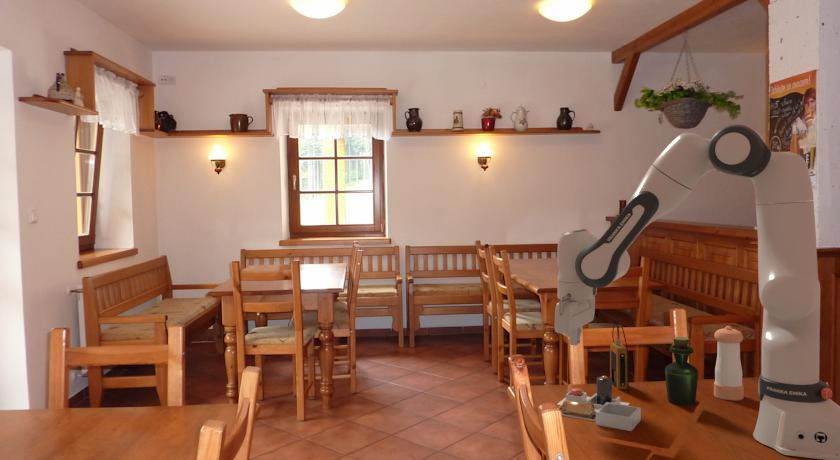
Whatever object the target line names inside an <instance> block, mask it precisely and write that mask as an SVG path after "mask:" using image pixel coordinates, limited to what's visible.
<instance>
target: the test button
mask: <svg viewBox="0 0 840 460" xmlns="http://www.w3.org/2000/svg"><path fill="white" fill-rule="evenodd" d="M570 391H571V395H574V396H581V395H582V392H583V391H582V389H581V388H579V387H578V388H576V387H575V388H570Z"/></svg>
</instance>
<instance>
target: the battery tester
mask: <svg viewBox="0 0 840 460" xmlns="http://www.w3.org/2000/svg"><path fill="white" fill-rule="evenodd" d="M564 400H570V401H576V402H582V403H588V404H593V405H594V407H595V411H598V410H599V409H600V408H601V407H602V406H603V405H599V404H597V392H596V393H594V394H593V395H592V396H588V394H587V392H584V391H582V395H581V396H574V395H571V390H570V391H568V392H567V393H565V397H564V398H563V399H562V400H560V401H559V402H558V403H556V405H557V406H560V405H562V404H563V402H564ZM612 403H615V404H621V405H627V406H630V404H631V403H630V402H626V401H625V402H624V401H621V396H617V397H615V399H614V398H612Z"/></svg>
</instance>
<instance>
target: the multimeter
mask: <svg viewBox="0 0 840 460" xmlns="http://www.w3.org/2000/svg"><path fill="white" fill-rule="evenodd" d="M613 322H614V323H613V325H612V326H613V327H612V342H610V343H609V357H610V358H609V361H610V362H609V365H610V367H609V368H610V369H609V373H608V376H607V377H609V378H612V386H614V388H616V389H617V390H627V393H630V390H629V388H630V384H629V379H630V358H629V352H628V351H629V349H628V343H627V339H626V335H625V330H624V328H623V325H622V324H621V323H620V322H619V323H617V321H616V319H613ZM615 325H616V341H615V338H614V331H615V330H614V329H615ZM620 327H621V330H622V334H623V338H624V342H625V345H623V344H622V343H621V340H620V337H621V336H620Z"/></svg>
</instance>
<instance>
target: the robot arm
mask: <svg viewBox="0 0 840 460" xmlns="http://www.w3.org/2000/svg"><path fill="white" fill-rule="evenodd" d="M712 171H719V172H721V173H723V174H726V175H727V176H731V177H745V178H748V179H750V181H751V183H752V185H753V189H754V199H755V202H754V203H755V214H756V215H755V216H756V230H757V259H758V260H757V267H758V269H757V271H758V275H757V276H758V278H757V279H758V297H759V298H758V299H759V301H760V304H761V306H762V308H763V310H762V311H763V315H762V331H761V373H760V374H759V376H758V377H759V378H758V399H759V400H760V401H759V410H758V416H757V421H756V424H755V428H754V431H753V433H752V436H753V438H754V440H755V441H758V442H759V443H761V444H762V445H765V446H767V447H770V448H771V449H773V450H776V451H777V452H778V453H780V454H782V455H783V456H784V455H785V456H788V457H789V456H792V457H800V458H808V459H815V460H816V459H817V460H840V405H838V404H837V403H836V402H835V401H833V400H832V399H831V398H832V397H833V391H832V389H831V386H830V385H829V382H827V381H826V382H824V381H823V380H821V379H820V338H821V337H820V334H821V333H820V332H821V331H820V330H821V327H820V326H821V284H820V280H819V274H818V272H819V271H818V270H819V269H818V253H817V252H818V251H817V232H816V219H815V218H816V216H815V205H814V204H815V202H814V191H813V185H812V181H811V175H810V171H809V168H808V164H807V162H806V160H805V159H804V157H803V156H802V155H800V154H798V153H795V152H792V151H773V150H771V149H770V148H769V146H768V145H767V143H766V142H765V139H764V138H763V136H762V135H761V134H760V133H759V132H758V131H757V130H755V129H754V128H752V127H749V126H747V125H743V124H731V125H726V126H724V127H722V128H720V129H718V131H716V132H715V133H714V134H713V136H712V137H711V138H706V137H704V136H702V135H700V134H698V133H695V132H683V133H681V134H679V135H677V136H676V137H675V138H674V139H673V140H672V141H671V142H670V143H669V144H668V145H667V146H666V147H665V148H664V149H663V150H662V151H661V153H660V154H659V155H658V156H657V157H656V159H655V160H654V161H653V163H652V164H651V165H650V167H649V168H648V170H647V171H646V172H645V174H644V175H643V177H642V179H641V181H640V182H639V184H638V186H637V187H636V189H635V191H634V192H633V194H632V196H631V198H630V199H629V201H628V202H627V204H626V205H625V207H624V208H623V209H622V211H621V212H620V213H619V215H618V216H617V217H616V218H615V220H614V221H613V222H612V224H611V225H610V226H609V227H608V228H607V230H606V231H605V232H604V234H603V235H602V236H601V237H599V236H597V235H595V234H593V233H592V232H591V231H590V230H588V229H583V228H582V229H577V230H576V229H575V230H570V231H567V232H563V233H562V234H561V235H560V236H559V238H558V241H557V249H556V250H557V253H556V254H557V255H556V257H557V258H556V266H557V268H558V275H557V278H556V280H557V282H556V283H557V284H556V285H557V291H556V292H557V293H556V294H557V299H558V300H559V301H558V302H557V303H556V306H555V311H554V326H553V327H554V331H555V333H556V334H562V335H563V334H565V335H568V337H569V344H570V346H577V345H578V344H580V343H581V336H582V332H583V326H585V325H587V324H589V323H591V322H592V321H594V317H595V312H596V296H597V294H598V293H597V292H598V289H601V288H605V287H608V285H610V284H611V283H613V282H615V281H617V280H618V279H620V278H622V277H623V276H625V275H626V274H627V273H628V272H629V269H630V267H631V263H632V262H631V256H630V254H629V253H630V252H629V251H628V249H629V248H630V246H631V245H632V244H633V242H634V241H635V240H636V238H637V237H638V236H639V235H640V234H641V232H642V231H643V230H644V229H645V228H647V227H648V226H649V225H650V224H652V223H653V222H655V221H656V220H658V219H660V218H661V217H664V216H665V215H667V214H669V213H671V212H673V211H674V210H675V209H677V208H678V207H679V206H680V205H681V204H682V203H683V202H684V201H685V200H686V199H687V198H688V197H689V195H690V194H691V193H692V191H694V189H695V188H696V186H698V184H699V182H700V181H701V180H702V179H703V178H704V177H705V176H706V175H707V174H709V173H711V172H712Z"/></svg>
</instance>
